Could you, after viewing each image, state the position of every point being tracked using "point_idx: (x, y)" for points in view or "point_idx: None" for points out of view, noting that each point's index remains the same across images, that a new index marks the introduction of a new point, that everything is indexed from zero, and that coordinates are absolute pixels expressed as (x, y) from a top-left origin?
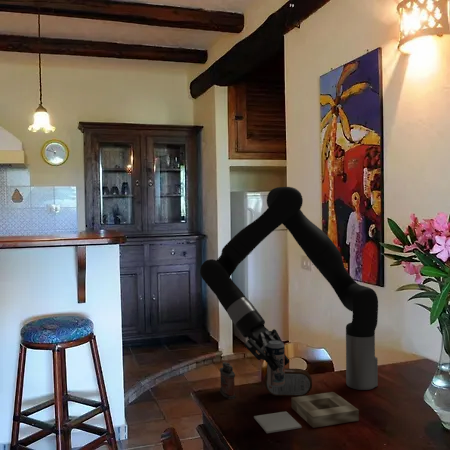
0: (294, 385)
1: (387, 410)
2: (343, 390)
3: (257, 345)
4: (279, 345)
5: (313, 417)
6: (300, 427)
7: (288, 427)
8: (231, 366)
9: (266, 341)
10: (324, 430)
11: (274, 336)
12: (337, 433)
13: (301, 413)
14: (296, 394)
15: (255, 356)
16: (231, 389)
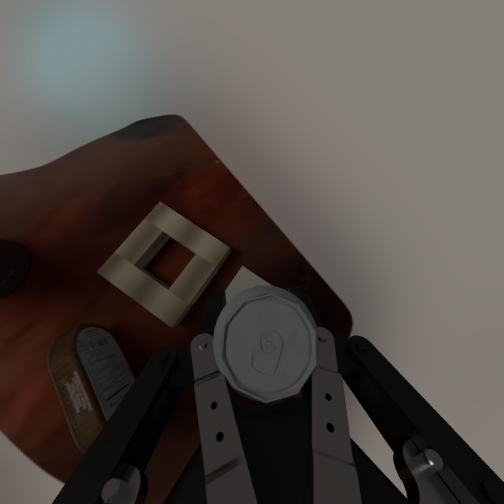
0: (106, 359)
1: (106, 191)
2: (44, 285)
3: (405, 410)
4: (287, 297)
5: (229, 247)
6: (243, 267)
7: (259, 279)
8: None
9: (284, 424)
10: (228, 235)
11: (124, 467)
12: (225, 217)
13: (204, 287)
14: (118, 349)
15: (371, 383)
16: None
